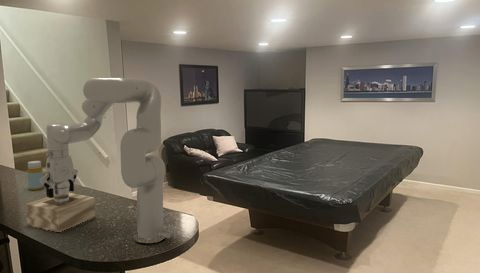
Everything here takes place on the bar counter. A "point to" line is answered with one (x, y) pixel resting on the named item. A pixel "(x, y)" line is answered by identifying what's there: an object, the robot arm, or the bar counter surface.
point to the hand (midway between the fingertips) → (60, 194)
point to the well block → (60, 212)
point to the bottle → (34, 175)
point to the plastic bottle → (61, 193)
